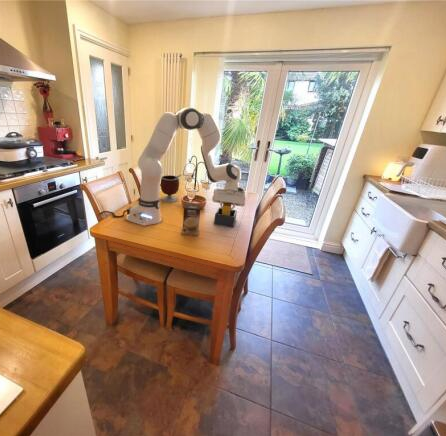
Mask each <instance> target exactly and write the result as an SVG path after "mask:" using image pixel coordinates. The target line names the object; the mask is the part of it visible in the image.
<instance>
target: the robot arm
mask: <svg viewBox="0 0 446 436" xmlns="http://www.w3.org/2000/svg"><path fill="white" fill-rule="evenodd" d="M219 128H220V127H219V126H218V124H217V122H216V120H215V118H214V117H213V115H212V114H211V113H210V112H207V111H205V112H204V111H203V112H200V111H199V110H197V109H196V108H194V107H183V108H181V109H178V110H177V111H176V112H171V111H166V112H164V113H162V115H161V116H160V118H159V119H158V121H157V123H156V125H155V127H154V129H153V131H152V134H151V137H150V139H149V141H148V143H147V144H146V146H145V147H144V149H143V151H142V153H141V155H140V156H139V158H138V160H137V166H138V169H139V170H140V173H141V180H140V187H139V188H140V197H138V199H136V202H137V203H136V204H135V205H133V206H128V208H127V209H125V210H124V211H123V212H122V214H121V215H115V213H114V212H112V211H109V210H103V211H101V212H99V215H102V214H104V213H107V214H112V216H113V217H114V218H121V217H122V218H123V217H124V216H125V213H126V214H127V215H126V216H125V221H128V222H131V223H134V224H136V225H137V224H138V225H140V226H144V227H146V226H149V225H157V224H160V223H161V222H162V220H163V218H162V214H161V198H160V186H161V177H162V174H163V166H162V163H161V162H160V161H161V159H162V158H163V157H164V156H165V154H166V153H167V152H168V151H169V148H170V146H171V144H172V141H173V140H174V137H175V135H176V133H177V131H179V129H181V130H185V131H194V130H196V131H197V133H198V134H199V137H200V141H201V145H200V152H201V156H202V159H203V163H204V166H205V169H206V177H207V179H208V180H209V181H210V182H211V183H213V184H215V183H218V182H223V181H225V184H224V187H223V188H218V187H217V188H215V189H214V190H213V194H212V198H211V200H212V202H213V203H216V204H219V205H220V209H221V210H222V209H223V203H224V202H227V203H232V204H231V208H230V211H233V210H235V208H236V207H242V208H243V207H245V205H246V190H245V189H244V188H242V187H240V183H241V179H242V169H241V167H240V166H238V165H234V164H232V163H230V162H229V163H223V164H220V165H215V163H214V159H213V156H212V151H213V150H214V149H215V148H217V147H218V145H220V143H221V140H222V134H221V131H220V129H219Z"/></svg>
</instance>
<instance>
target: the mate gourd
mask: <svg viewBox="0 0 446 436" xmlns="http://www.w3.org/2000/svg"><path fill="white" fill-rule="evenodd" d="M179 177H182V174H179V175H171V174H167V175H161V179H160V190H161V192H162V193H163V194H164V195H165V196H162V197H161V201H163V202H164V203H165V202H166V203H174V202H177V201H178V199H179V198H178V197H177V196H174V195H176V194H177V193H178V191H179V188H180V178H179Z"/></svg>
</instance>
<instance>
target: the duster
mask: <svg viewBox="0 0 446 436" xmlns="http://www.w3.org/2000/svg"><path fill="white" fill-rule="evenodd" d="M231 204H232V203H227V202H224V203H223V204H222V206H223V209H222V215H227V216H230V208H232V205H231Z"/></svg>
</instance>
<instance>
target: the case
mask: <svg viewBox="0 0 446 436" xmlns="http://www.w3.org/2000/svg"><path fill="white" fill-rule="evenodd" d="M220 208H221V206H220V207H218V208H217V210H216V212H215V213H214V222H213V224H214V225H218V226H222V227H228V228H234V226H235V223H236V220H237V213H238V210H237V209H233V211H230V216H227V215H222V210H221V209H220Z"/></svg>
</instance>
